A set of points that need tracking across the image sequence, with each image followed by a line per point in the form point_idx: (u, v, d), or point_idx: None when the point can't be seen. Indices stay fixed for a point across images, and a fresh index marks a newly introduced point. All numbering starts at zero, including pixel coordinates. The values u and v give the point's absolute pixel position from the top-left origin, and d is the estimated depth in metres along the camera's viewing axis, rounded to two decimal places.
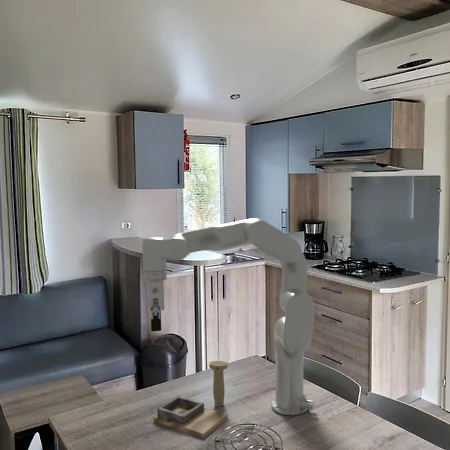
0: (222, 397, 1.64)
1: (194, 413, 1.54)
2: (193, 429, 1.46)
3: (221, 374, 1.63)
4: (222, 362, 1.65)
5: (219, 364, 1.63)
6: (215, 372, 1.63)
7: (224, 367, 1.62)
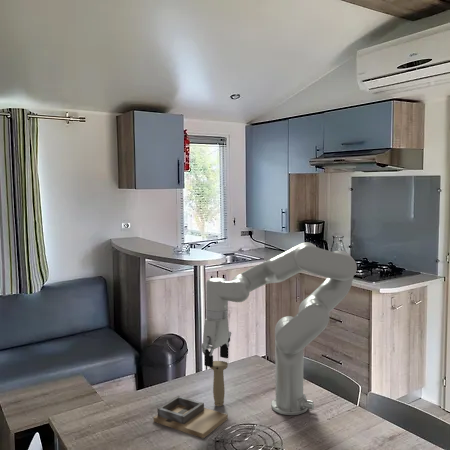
0: (222, 397, 1.64)
1: (194, 413, 1.54)
2: (193, 429, 1.46)
3: (221, 374, 1.63)
4: (222, 362, 1.65)
5: (219, 364, 1.63)
6: (215, 372, 1.63)
7: (224, 367, 1.62)
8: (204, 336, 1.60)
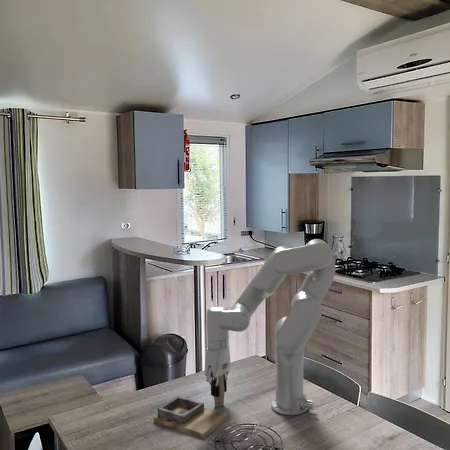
0: (222, 397, 1.64)
1: (194, 413, 1.54)
2: (193, 429, 1.46)
3: None
4: None
5: None
6: None
7: (224, 367, 1.62)
8: (206, 366, 1.61)
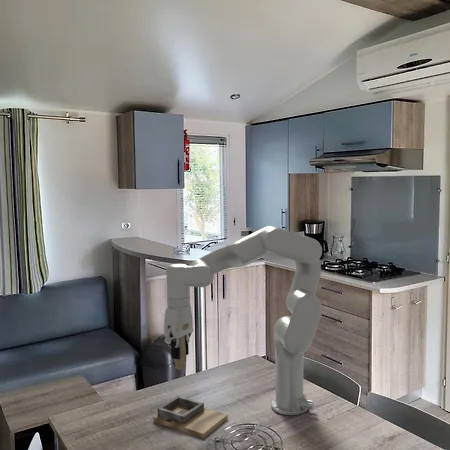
0: (183, 360, 1.54)
1: (194, 413, 1.54)
2: (193, 429, 1.46)
3: None
4: None
5: None
6: None
7: (185, 327, 1.52)
8: (165, 326, 1.51)
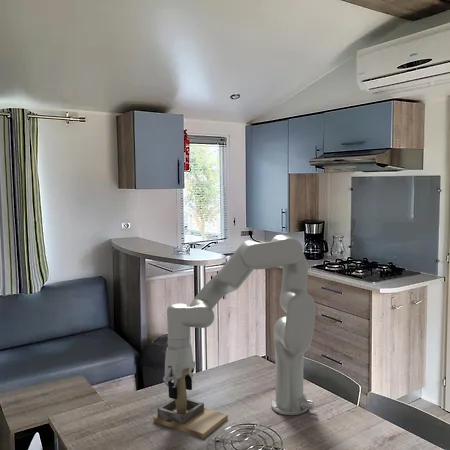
0: (184, 404, 1.55)
1: (194, 413, 1.54)
2: (193, 429, 1.46)
3: (182, 380, 1.54)
4: None
5: None
6: None
7: (185, 373, 1.53)
8: (166, 366, 1.52)
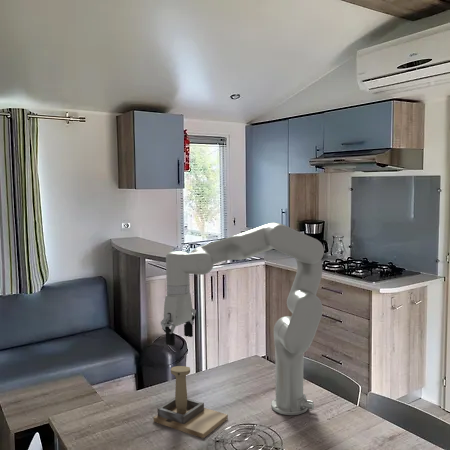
0: (184, 404, 1.55)
1: (194, 413, 1.54)
2: (193, 429, 1.46)
3: (183, 380, 1.55)
4: (185, 367, 1.56)
5: (181, 369, 1.55)
6: (177, 378, 1.55)
7: (186, 373, 1.54)
8: (165, 313, 1.51)
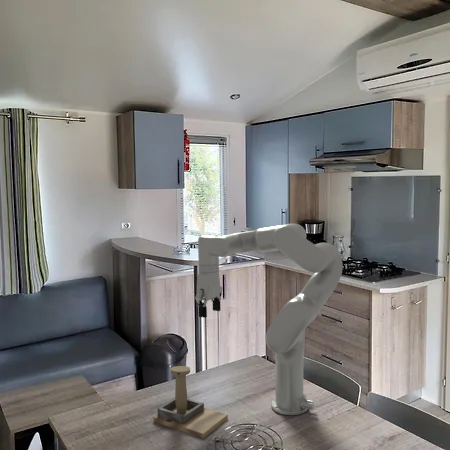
0: (184, 404, 1.55)
1: (194, 413, 1.54)
2: (193, 429, 1.46)
3: (183, 380, 1.55)
4: (184, 367, 1.57)
5: (181, 369, 1.55)
6: (177, 378, 1.55)
7: (186, 373, 1.54)
8: (197, 289, 1.71)
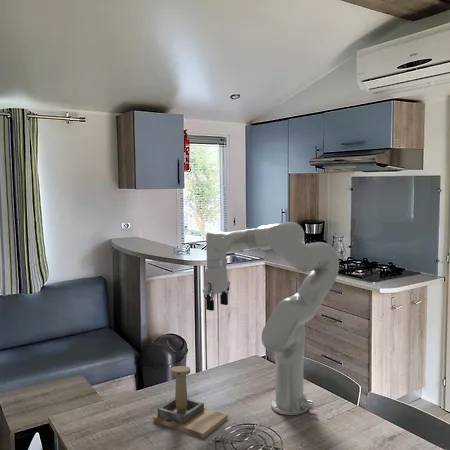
0: (184, 404, 1.55)
1: (194, 413, 1.54)
2: (193, 429, 1.46)
3: (183, 380, 1.55)
4: (185, 367, 1.56)
5: (181, 369, 1.55)
6: (177, 378, 1.55)
7: (186, 373, 1.54)
8: (205, 283, 1.77)
